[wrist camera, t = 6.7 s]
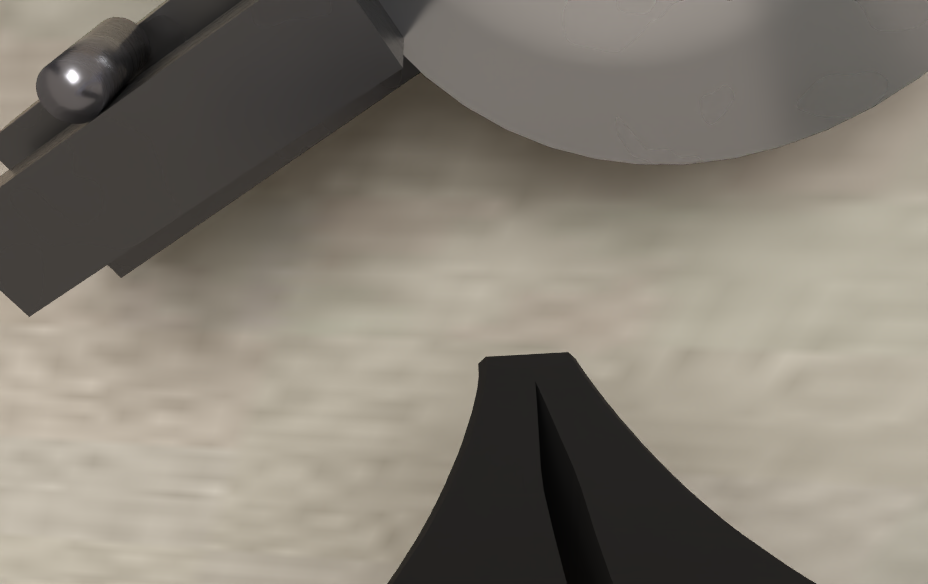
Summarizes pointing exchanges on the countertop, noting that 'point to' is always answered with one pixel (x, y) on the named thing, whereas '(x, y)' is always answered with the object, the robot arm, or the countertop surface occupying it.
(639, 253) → the countertop surface
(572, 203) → the countertop surface
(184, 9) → the pot
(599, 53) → the lid
